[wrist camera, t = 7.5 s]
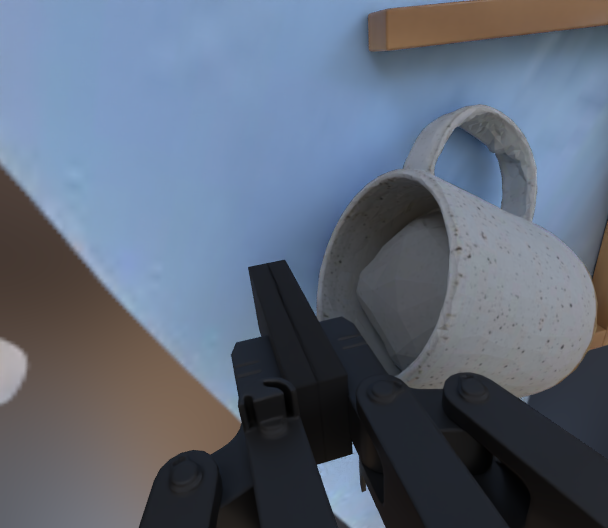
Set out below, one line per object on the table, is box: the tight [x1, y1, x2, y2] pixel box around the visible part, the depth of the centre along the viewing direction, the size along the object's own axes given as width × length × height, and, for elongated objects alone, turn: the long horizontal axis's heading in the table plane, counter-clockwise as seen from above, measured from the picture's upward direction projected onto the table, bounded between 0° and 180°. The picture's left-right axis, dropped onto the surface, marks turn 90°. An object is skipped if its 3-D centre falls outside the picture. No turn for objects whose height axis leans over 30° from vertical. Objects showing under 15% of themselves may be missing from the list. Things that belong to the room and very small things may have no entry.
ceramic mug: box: [316, 104, 598, 398], centre depth 15 cm, size 11×8×8 cm
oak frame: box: [368, 0, 608, 350], centre depth 19 cm, size 17×14×2 cm
